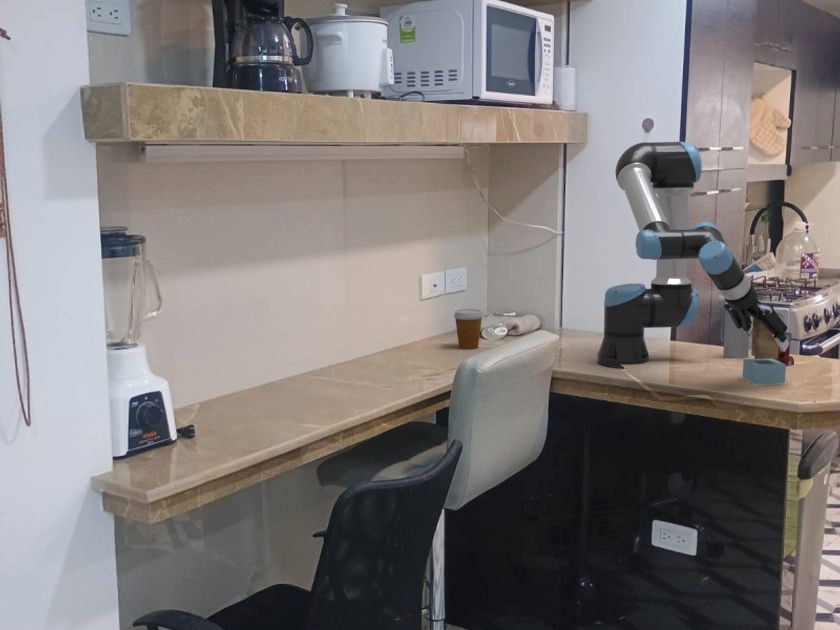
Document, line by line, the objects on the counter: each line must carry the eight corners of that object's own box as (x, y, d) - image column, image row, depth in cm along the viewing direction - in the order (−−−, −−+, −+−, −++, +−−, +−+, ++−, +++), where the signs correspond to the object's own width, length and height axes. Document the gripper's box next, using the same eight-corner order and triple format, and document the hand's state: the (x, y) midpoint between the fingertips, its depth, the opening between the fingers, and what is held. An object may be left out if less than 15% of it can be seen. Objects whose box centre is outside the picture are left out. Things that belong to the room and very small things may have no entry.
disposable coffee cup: (452, 345, 301) (451, 309, 299) (480, 344, 302) (480, 308, 300) (456, 350, 292) (456, 314, 290) (485, 349, 293) (485, 313, 291)
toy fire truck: (748, 369, 261) (749, 333, 259) (777, 364, 267) (779, 329, 265) (767, 374, 255) (769, 337, 253) (797, 368, 261) (799, 333, 259)
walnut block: (751, 355, 243) (753, 318, 242) (769, 354, 244) (771, 317, 242) (759, 358, 238) (761, 321, 237) (777, 358, 239) (779, 321, 237)
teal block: (742, 377, 246) (743, 359, 245) (771, 376, 246) (772, 358, 246) (755, 384, 238) (756, 365, 237) (784, 383, 239) (785, 364, 238)
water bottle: (754, 359, 273) (758, 277, 269) (737, 363, 268) (741, 279, 264) (728, 354, 280) (731, 274, 276) (711, 358, 276) (715, 276, 272)
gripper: (698, 297, 238) (735, 350, 250) (763, 306, 222) (800, 362, 233) (712, 275, 240) (748, 329, 252) (778, 282, 224) (813, 339, 236)
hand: (773, 345), depth 243 cm, fingers closed on walnut block, 7 cm apart
